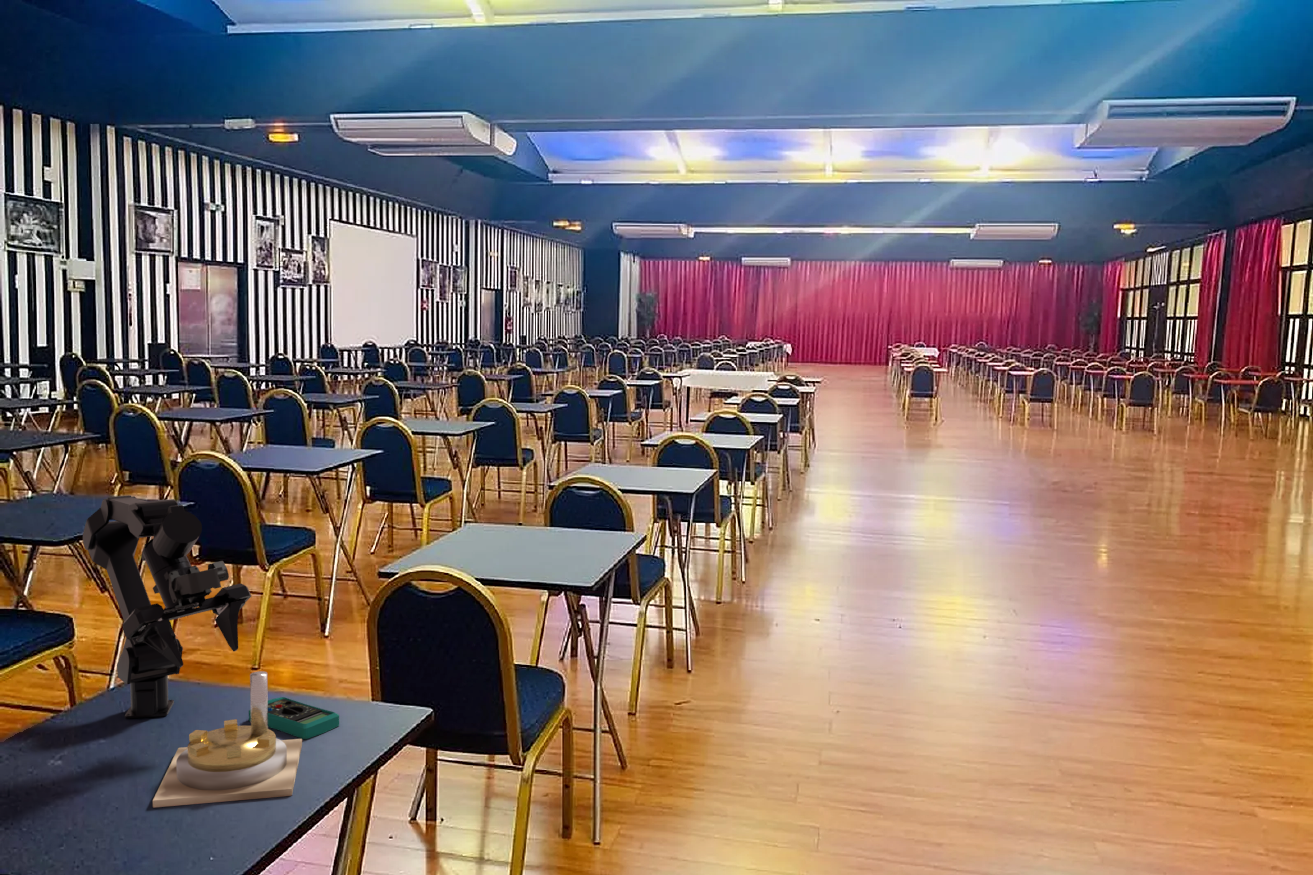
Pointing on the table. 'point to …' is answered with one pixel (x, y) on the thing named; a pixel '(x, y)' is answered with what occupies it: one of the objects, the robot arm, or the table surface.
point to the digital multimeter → (299, 718)
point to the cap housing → (230, 779)
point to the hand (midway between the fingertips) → (209, 658)
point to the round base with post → (236, 737)
